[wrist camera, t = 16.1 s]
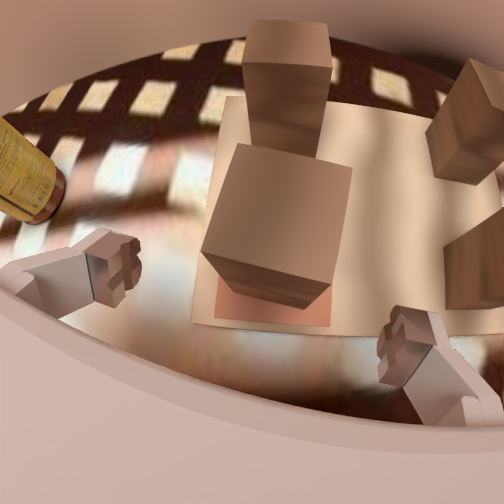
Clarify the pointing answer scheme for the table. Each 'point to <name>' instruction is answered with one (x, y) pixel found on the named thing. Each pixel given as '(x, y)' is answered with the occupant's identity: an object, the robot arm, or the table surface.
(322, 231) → the walnut peg
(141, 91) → the table surface
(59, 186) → the sauce bottle
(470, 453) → the robot arm
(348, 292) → the board
